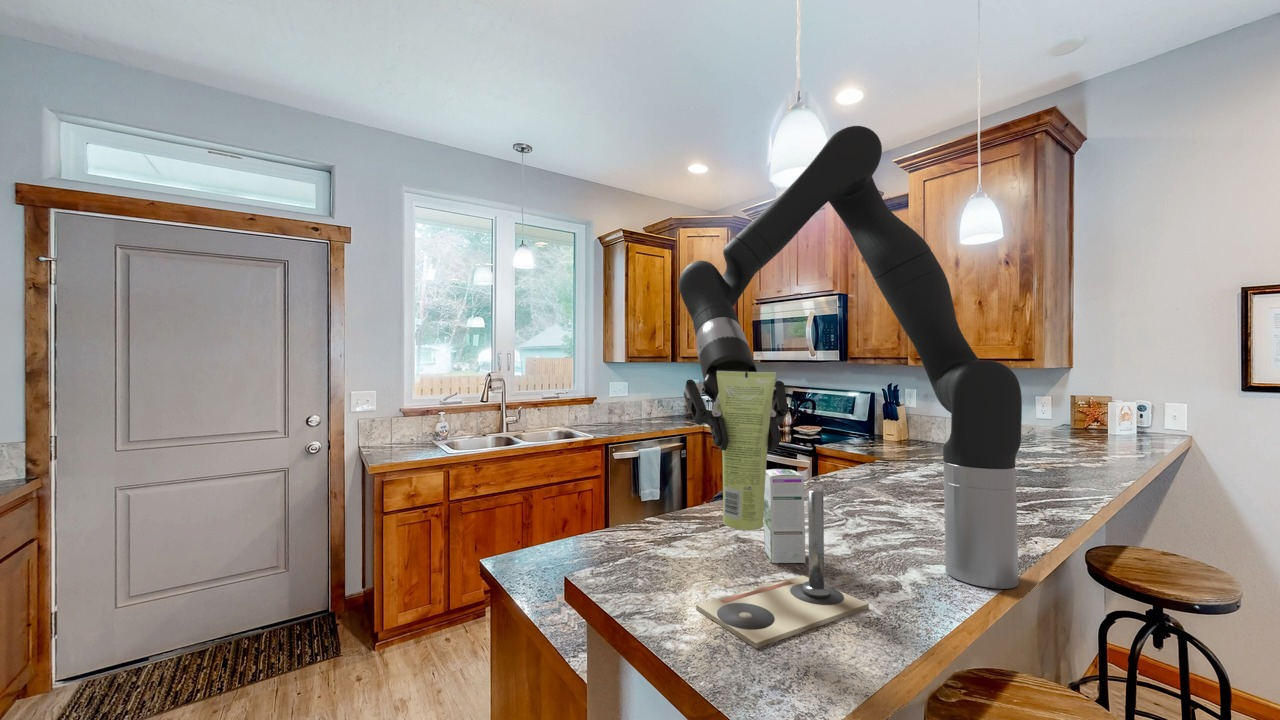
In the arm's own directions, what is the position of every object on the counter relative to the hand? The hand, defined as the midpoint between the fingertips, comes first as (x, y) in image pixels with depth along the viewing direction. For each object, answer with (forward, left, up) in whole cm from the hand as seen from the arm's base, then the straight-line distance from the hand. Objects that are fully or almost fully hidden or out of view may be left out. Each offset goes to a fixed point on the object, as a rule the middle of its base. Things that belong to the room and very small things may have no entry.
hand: (749, 446), depth 61 cm
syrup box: (-22, -15, -22) cm, 34 cm away
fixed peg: (-14, -1, -22) cm, 26 cm away
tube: (-1, -2, -10) cm, 11 cm away
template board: (-7, -1, -22) cm, 23 cm away
